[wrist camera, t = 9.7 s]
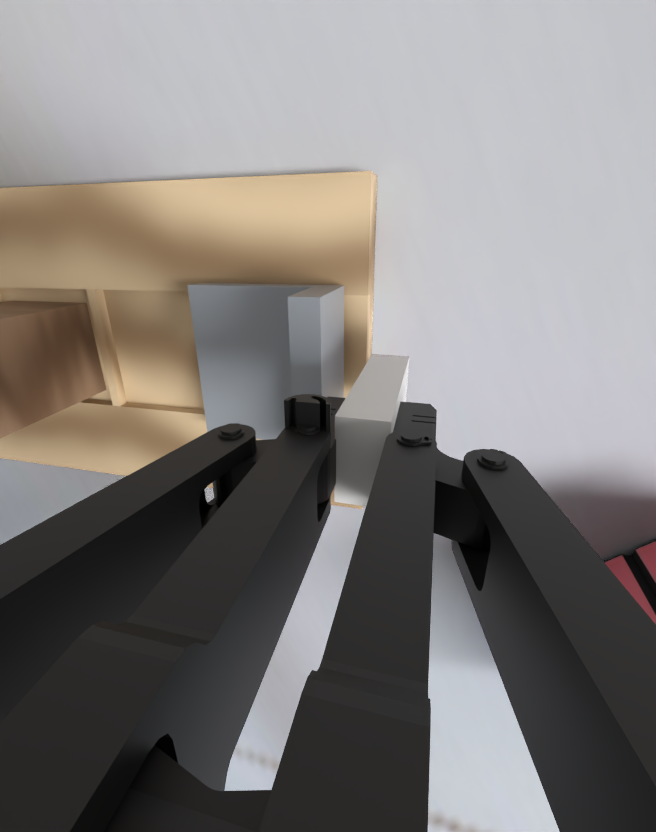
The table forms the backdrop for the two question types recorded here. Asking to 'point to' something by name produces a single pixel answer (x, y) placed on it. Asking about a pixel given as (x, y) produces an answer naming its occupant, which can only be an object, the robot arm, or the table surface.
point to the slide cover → (266, 349)
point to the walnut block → (45, 361)
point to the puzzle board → (173, 291)
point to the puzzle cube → (638, 576)
